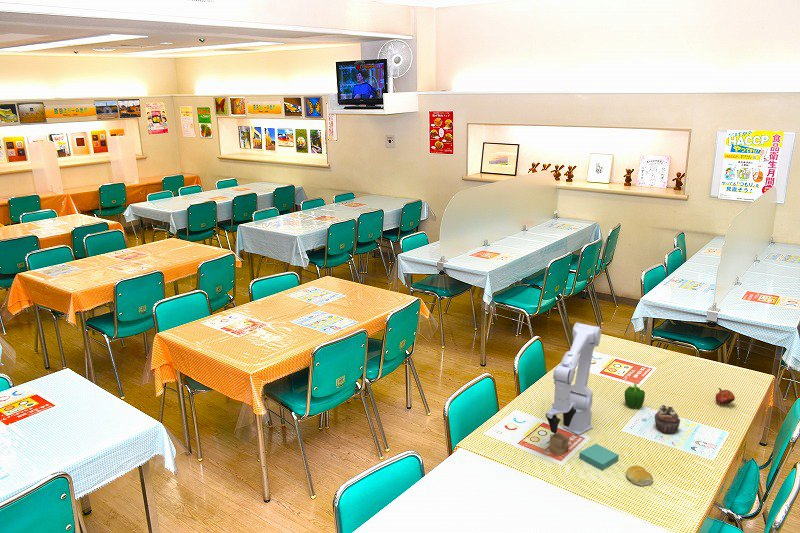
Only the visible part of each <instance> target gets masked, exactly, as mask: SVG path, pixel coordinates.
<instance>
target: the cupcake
mask: <svg viewBox="0 0 800 533" xmlns="http://www.w3.org/2000/svg"><path fill="white" fill-rule="evenodd" d="M654 421H655V429H656V430H657V431H658V432H659V433H662V434H665V435H675V434H676V433H677V432H678V428H679V426H680V423H681V419H680V417H679V415H678V412H676V411H675V409H674V407H672V406H668V407H667V406H666V405H665V404H662V405H660V406H659V409H657V411H656V413H655V414H654Z"/></svg>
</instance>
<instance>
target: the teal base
mask: <svg viewBox="0 0 800 533" xmlns="http://www.w3.org/2000/svg"><path fill="white" fill-rule="evenodd" d="M619 455H620V454H618V453H616V452H614V451H611V449H608V448H606V447H605V446H602V445H599V444H598V443H593V444H592V445H590V446H589V447H587V448H585V449H583V450H581V451H580V452H579V456H578V459H580V460H582V461H583V462H585V463H587V464H589V465H591V466H592V467H594V468H596V469H598V470H600V471H605V469H607V468H609V467H611V466H612V465H614V464H616V463H618V461H619V458H620V456H619Z"/></svg>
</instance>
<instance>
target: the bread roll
mask: <svg viewBox="0 0 800 533" xmlns="http://www.w3.org/2000/svg"><path fill="white" fill-rule="evenodd" d="M625 475H626V476H625V477H626V479H627V480H629V482H631V483H632V484H633V485H636V486H640V487H644V486H650V485H651V484H652V483H653V480H654V479H653V475H652V474H651V473H650V472H648V470H646V469H645V468H644V467H643V466H641V465H630V467H628V468H627V469H626V473H625Z"/></svg>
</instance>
